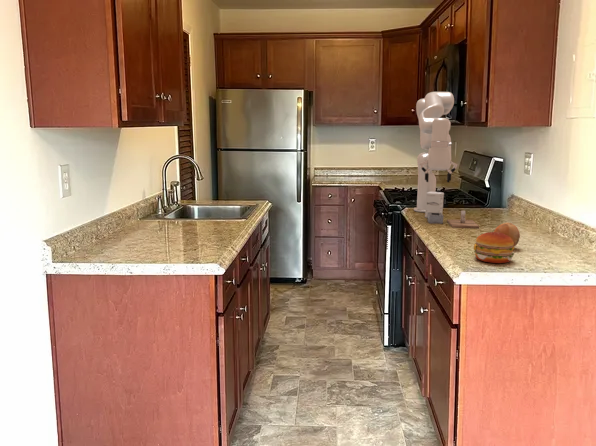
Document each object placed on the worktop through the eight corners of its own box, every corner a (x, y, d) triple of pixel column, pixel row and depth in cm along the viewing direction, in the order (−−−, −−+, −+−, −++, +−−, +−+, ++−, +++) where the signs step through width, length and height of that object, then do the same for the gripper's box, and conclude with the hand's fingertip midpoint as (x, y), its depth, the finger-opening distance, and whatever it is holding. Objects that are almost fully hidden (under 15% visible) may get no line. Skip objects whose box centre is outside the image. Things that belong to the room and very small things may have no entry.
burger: (498, 267, 183) (500, 238, 181) (464, 259, 194) (466, 231, 192) (521, 261, 191) (523, 233, 189) (487, 254, 201) (489, 227, 200)
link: (427, 220, 269) (427, 212, 268) (440, 220, 268) (441, 212, 267) (429, 223, 261) (429, 215, 260) (442, 223, 260) (443, 215, 260)
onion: (496, 244, 217) (498, 219, 216) (522, 248, 211) (524, 222, 209) (487, 248, 210) (489, 222, 208) (514, 252, 204) (516, 226, 202)
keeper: (446, 221, 267) (447, 208, 266) (472, 222, 265) (473, 208, 264) (451, 227, 251) (452, 213, 250) (479, 228, 250) (480, 214, 249)
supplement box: (424, 217, 277) (425, 192, 274) (428, 215, 283) (429, 191, 281) (439, 219, 273) (440, 193, 271) (442, 216, 280) (444, 192, 277)
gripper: (457, 145, 258) (455, 181, 261) (419, 144, 260) (418, 180, 263) (460, 145, 250) (457, 183, 253) (421, 145, 252) (419, 182, 255)
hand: (437, 181), depth 258 cm, fingers open, 9 cm apart
